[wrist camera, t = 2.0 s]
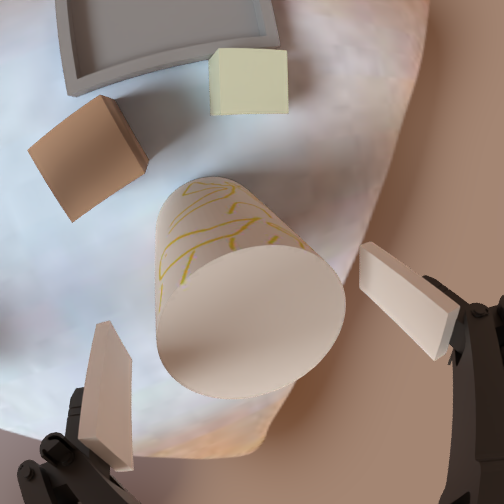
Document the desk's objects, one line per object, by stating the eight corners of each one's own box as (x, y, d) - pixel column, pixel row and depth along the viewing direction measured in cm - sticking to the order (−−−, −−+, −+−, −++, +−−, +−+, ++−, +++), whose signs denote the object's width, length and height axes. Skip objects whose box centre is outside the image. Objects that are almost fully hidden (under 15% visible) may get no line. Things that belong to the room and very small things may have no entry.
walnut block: (55, 141, 17) (27, 150, 12) (114, 99, 17) (99, 94, 12) (90, 199, 19) (72, 222, 15) (149, 160, 19) (144, 173, 15)
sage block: (208, 60, 17) (218, 48, 14) (265, 60, 18) (287, 50, 15) (210, 115, 19) (220, 115, 16) (266, 113, 20) (288, 113, 17)
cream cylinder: (264, 173, 22) (358, 234, 11) (262, 271, 25) (330, 377, 15) (150, 182, 20) (138, 260, 9) (163, 285, 23) (175, 410, 13)
